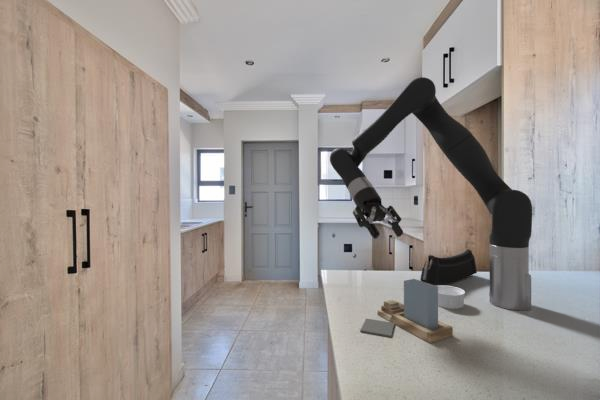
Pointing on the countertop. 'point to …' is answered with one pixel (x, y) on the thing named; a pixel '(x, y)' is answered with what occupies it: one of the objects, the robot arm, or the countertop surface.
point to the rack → (396, 315)
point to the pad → (377, 327)
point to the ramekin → (450, 297)
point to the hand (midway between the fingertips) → (389, 235)
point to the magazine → (448, 269)
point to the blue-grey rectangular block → (421, 303)
